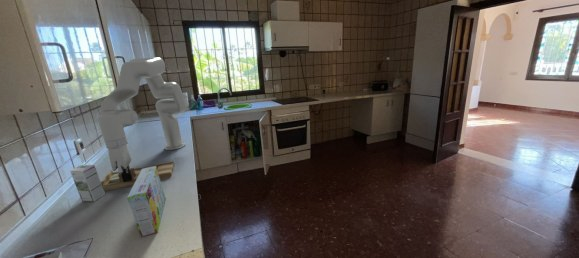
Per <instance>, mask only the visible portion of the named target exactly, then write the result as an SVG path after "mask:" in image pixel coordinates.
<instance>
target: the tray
mask: <svg viewBox="0 0 579 258" xmlns="http://www.w3.org/2000/svg"><path fill="white" fill-rule="evenodd" d="M153 166H156V167H157V171H158V174H159V178H160V180H164V179H169V178H172V177H173V174H174V173H173V172H174V168H175V163H174V161H173V160H172V161H167V162H161V163H157V164H151V165H146V166H142V167H141V166H140V167H134V171H135V174H136V176H135V178H134V179H132V180H131V181H127V182H123V181H121V182H120V180H119V176H118V174H119V171H113V170H110V171H109V172H108V173H107V174H106V175H105V176H104V177H103V179H102V180H100V182H101V184H102V187H103V190H104V192H106V191H111V190H116V189H121V188H126V187H131V186H133V185H134V183H135V181H136V179H137V177H138V176H139V174H140V172H141V170H142V169H143V168H148V167H153Z"/></svg>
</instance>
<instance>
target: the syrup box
mask: <svg viewBox="0 0 579 258" xmlns="http://www.w3.org/2000/svg"><path fill="white" fill-rule="evenodd" d="M69 173H70V175H71V178H72V179H73V182H74V184H75V187H76V190H77V191H78V195H79V197H80V199H81V202H82V203H84V202H90V203H91V202H96V201H97V200H99V199H100V198H102V197H103V196H105V195H106V193H105V191H104V190H103V187H102V184H101V180H100V177H99V174H98V171H97V168H96V166H95V164H81V165H78V166H76V167H74V168H72V169H71V170H70V171H69Z"/></svg>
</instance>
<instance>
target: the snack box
mask: <svg viewBox="0 0 579 258" xmlns="http://www.w3.org/2000/svg"><path fill="white" fill-rule="evenodd" d="M165 195H166V194H165V192H164V188H163V184H162V182H161V179H160V178H159V174H158V171H157V167H156V166H153V167H148V168H143V169H142V170H141V172H140V174H139V176H138V177H137V179H136V181H135V183H134V185H132V187H131V189H130V191H129V194H128V195H127V197H126V199H127V202H128V204H129V207H130V209H131V212H132V215H133V218H134V222H135V224H136V226H137V230H138V233H139V236H140V238H143V237H146V236H149V235H154V234H157V233H158V232H159V228H160V224H161V219H162V215H163V212H164V207H165V203H166V199H167V198H166V196H165Z"/></svg>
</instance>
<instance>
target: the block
mask: <svg viewBox="0 0 579 258" xmlns="http://www.w3.org/2000/svg"><path fill="white" fill-rule="evenodd" d="M134 169H135V167H134V168H130V171H131V175H132V178H133V179H134V178H135V176H136V174H135V171H134ZM118 176H119V180H120V182H121V181H123V179H122V176H121V173H120V174H118Z"/></svg>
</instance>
